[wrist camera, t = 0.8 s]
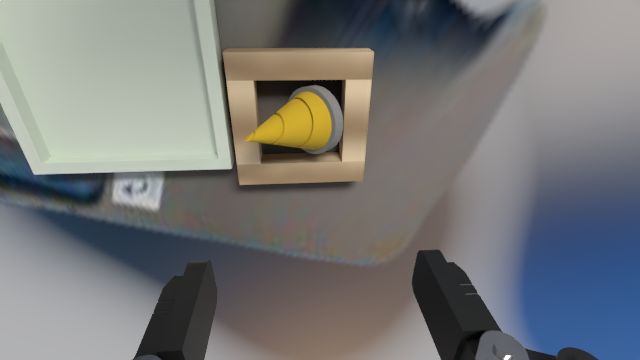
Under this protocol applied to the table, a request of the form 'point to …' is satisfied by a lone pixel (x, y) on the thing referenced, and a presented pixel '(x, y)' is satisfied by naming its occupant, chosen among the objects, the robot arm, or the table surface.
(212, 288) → the robot arm
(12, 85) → the tray
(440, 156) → the table surface
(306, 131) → the yellow cone
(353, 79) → the square wooden frame
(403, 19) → the table surface
